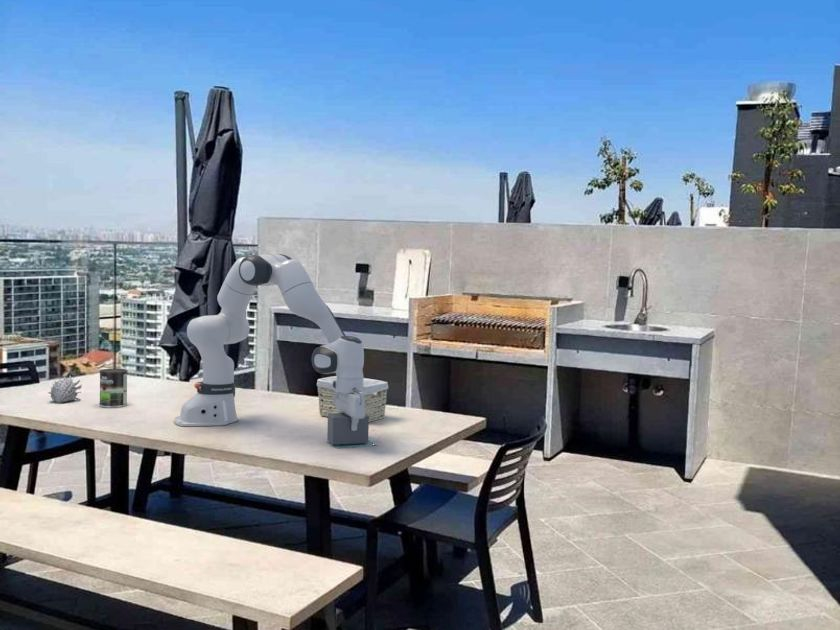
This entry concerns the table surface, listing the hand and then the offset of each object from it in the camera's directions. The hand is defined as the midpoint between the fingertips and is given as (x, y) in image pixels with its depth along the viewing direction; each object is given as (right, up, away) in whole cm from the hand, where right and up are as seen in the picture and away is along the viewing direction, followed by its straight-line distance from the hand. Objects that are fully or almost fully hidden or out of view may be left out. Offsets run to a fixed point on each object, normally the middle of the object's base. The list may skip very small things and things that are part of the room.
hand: (349, 427), depth 256 cm
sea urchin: (-120, +2, +58) cm, 133 cm away
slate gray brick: (0, -5, 0) cm, 5 cm away
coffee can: (-98, +1, +53) cm, 112 cm away
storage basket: (-3, -3, +43) cm, 43 cm away
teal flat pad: (+1, -5, +1) cm, 5 cm away
